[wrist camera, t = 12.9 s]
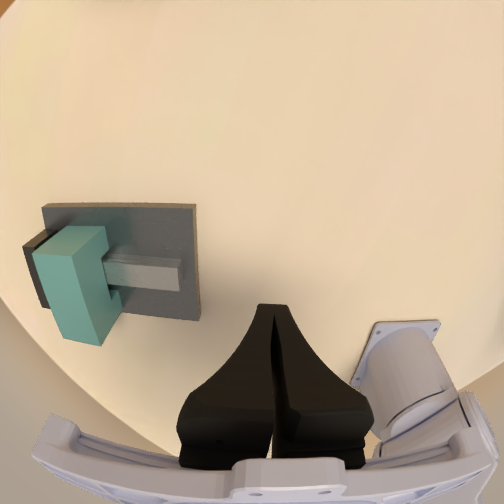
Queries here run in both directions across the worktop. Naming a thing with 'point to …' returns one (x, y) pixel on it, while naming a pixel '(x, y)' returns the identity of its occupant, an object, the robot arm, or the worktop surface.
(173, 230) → the rail base
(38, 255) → the block
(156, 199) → the worktop surface
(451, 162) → the worktop surface
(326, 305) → the worktop surface
